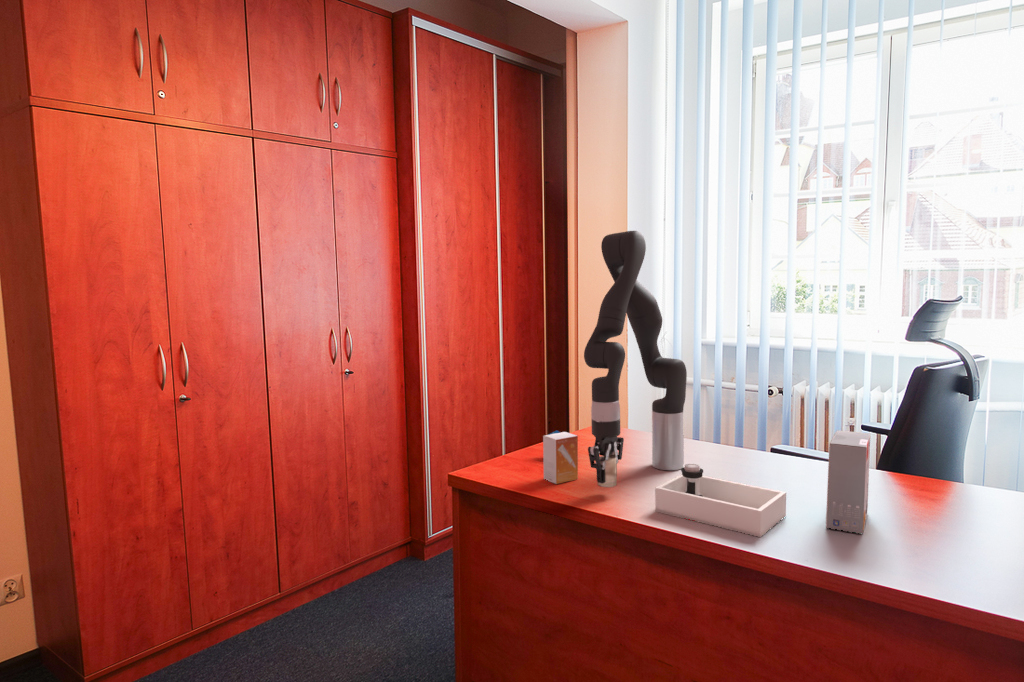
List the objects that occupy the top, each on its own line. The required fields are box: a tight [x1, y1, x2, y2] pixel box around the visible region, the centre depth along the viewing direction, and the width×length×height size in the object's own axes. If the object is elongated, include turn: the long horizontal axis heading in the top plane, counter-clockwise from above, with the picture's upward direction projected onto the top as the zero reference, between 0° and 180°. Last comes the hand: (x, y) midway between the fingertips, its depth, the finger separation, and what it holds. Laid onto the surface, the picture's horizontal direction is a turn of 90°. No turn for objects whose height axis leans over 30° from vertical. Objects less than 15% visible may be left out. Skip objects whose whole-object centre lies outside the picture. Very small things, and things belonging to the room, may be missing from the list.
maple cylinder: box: [597, 455, 618, 488], centre depth 172 cm, size 5×5×7 cm
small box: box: [542, 431, 579, 485], centre depth 187 cm, size 8×6×13 cm
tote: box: [654, 473, 787, 538], centre depth 157 cm, size 16×26×6 cm, turn 48°
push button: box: [680, 463, 704, 497], centre depth 161 cm, size 7×5×10 cm
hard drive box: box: [825, 429, 871, 534], centre depth 150 cm, size 16×8×20 cm, turn 148°
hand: (606, 479), depth 172 cm, fingers closed on maple cylinder, 5 cm apart
